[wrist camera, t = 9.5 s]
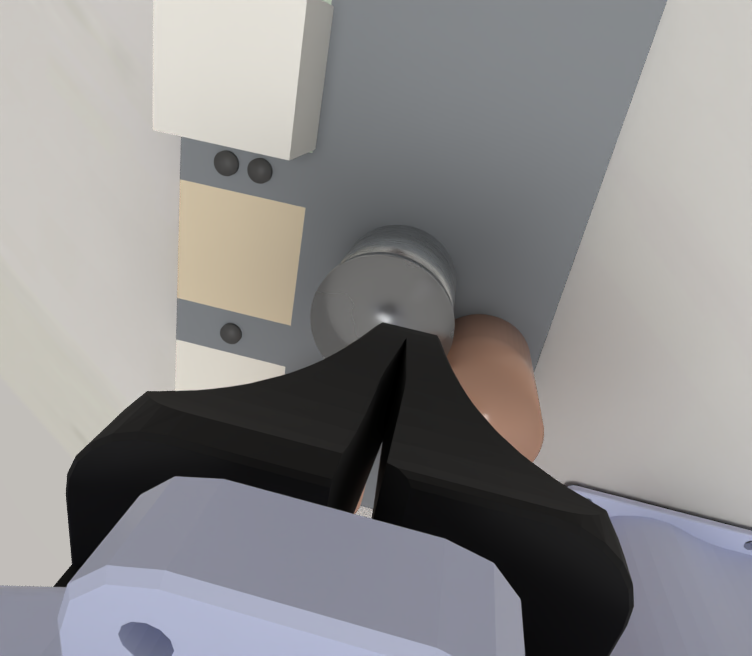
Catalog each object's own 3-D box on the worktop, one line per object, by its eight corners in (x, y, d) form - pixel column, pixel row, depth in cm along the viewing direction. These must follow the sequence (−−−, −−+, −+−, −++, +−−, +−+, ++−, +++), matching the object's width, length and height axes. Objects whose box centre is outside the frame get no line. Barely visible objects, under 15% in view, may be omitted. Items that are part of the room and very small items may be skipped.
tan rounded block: (544, 327, 21) (561, 395, 16) (513, 413, 23) (522, 495, 18) (441, 303, 21) (431, 363, 17) (419, 389, 23) (404, 465, 18)
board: (661, 1, 17) (669, -3, 16) (475, 526, 26) (474, 539, 26) (195, -86, 18) (183, -93, 17) (179, 448, 27) (171, 458, 27)
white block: (333, 6, 18) (307, -7, 15) (315, 149, 20) (289, 160, 17) (201, -20, 18) (153, -38, 15) (196, 123, 20) (152, 130, 17)
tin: (472, 237, 20) (471, 274, 16) (443, 346, 22) (435, 404, 18) (350, 209, 20) (320, 240, 16) (332, 320, 22) (302, 370, 18)
